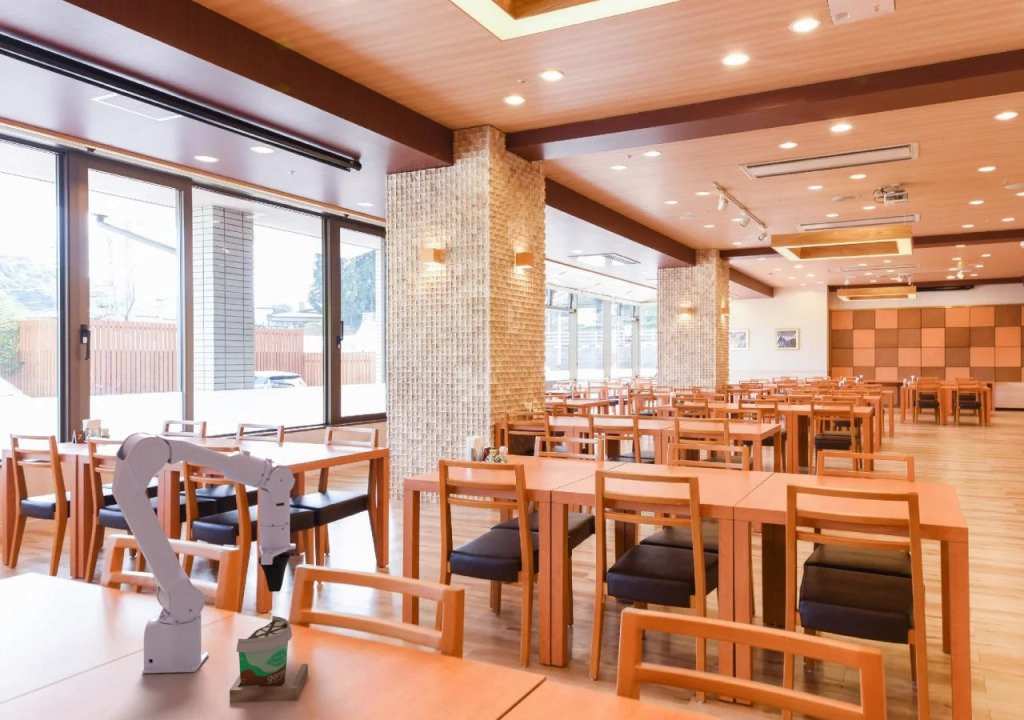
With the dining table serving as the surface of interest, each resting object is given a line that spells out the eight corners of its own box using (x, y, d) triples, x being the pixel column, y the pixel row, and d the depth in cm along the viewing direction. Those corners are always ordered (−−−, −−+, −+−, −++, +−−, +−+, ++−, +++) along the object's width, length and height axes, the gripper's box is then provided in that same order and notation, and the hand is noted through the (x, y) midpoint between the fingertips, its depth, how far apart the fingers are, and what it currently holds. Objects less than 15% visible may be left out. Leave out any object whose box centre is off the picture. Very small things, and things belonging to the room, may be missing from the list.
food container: (269, 702, 127) (269, 643, 127) (236, 698, 128) (236, 639, 128) (304, 671, 139) (304, 617, 139) (274, 668, 140) (274, 614, 140)
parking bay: (229, 702, 127) (229, 690, 127) (245, 676, 137) (245, 665, 137) (296, 700, 128) (296, 688, 128) (307, 674, 138) (307, 663, 138)
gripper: (287, 531, 146) (287, 602, 146) (302, 515, 160) (302, 579, 160) (249, 532, 145) (249, 602, 145) (268, 515, 160) (268, 579, 160)
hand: (275, 590), depth 153 cm, fingers closed
